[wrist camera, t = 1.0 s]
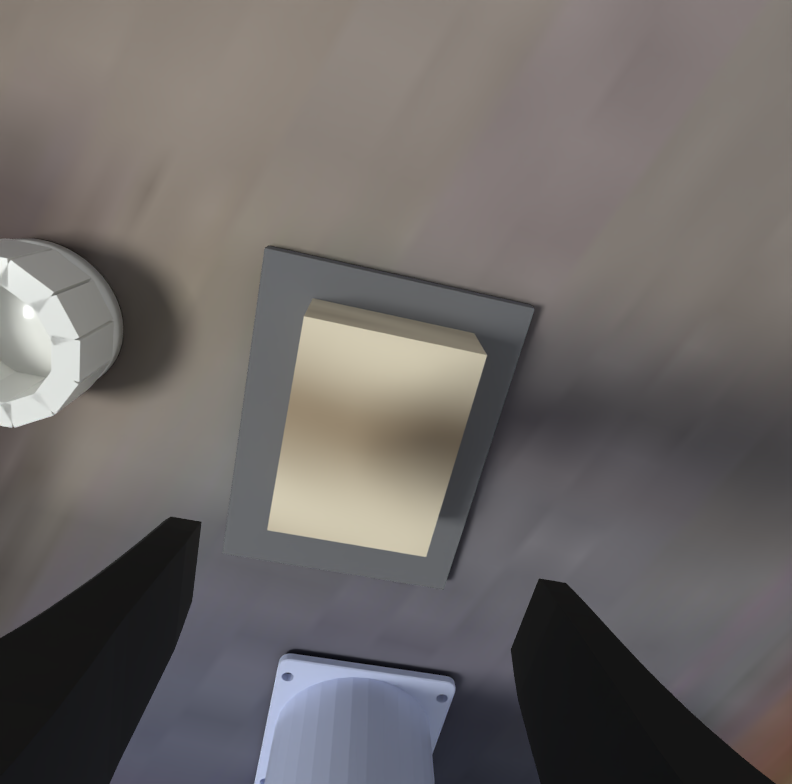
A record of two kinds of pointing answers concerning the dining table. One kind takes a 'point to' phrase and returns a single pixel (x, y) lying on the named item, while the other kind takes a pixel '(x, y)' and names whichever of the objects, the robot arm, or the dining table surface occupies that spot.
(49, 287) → the bowl
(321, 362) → the block
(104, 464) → the dining table surface
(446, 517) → the mat
